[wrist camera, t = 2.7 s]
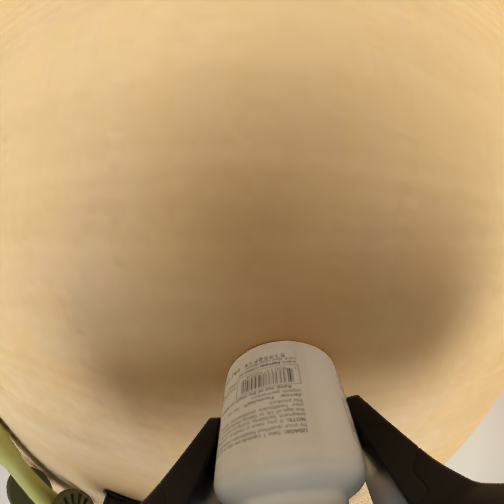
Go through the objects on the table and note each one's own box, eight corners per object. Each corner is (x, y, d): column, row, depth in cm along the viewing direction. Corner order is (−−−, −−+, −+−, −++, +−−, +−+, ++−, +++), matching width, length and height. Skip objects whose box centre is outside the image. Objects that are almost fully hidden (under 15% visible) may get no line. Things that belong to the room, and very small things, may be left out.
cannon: (-28, 395, 15) (-63, 442, 4) (13, 423, 15) (-26, 487, 4) (59, 487, 23) (42, 527, 12) (109, 509, 22) (95, 555, 11)
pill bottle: (210, 392, 10) (182, 560, 3) (258, 319, 9) (261, 561, 2) (296, 419, 11) (312, 564, 4) (355, 357, 10) (421, 529, 2)
